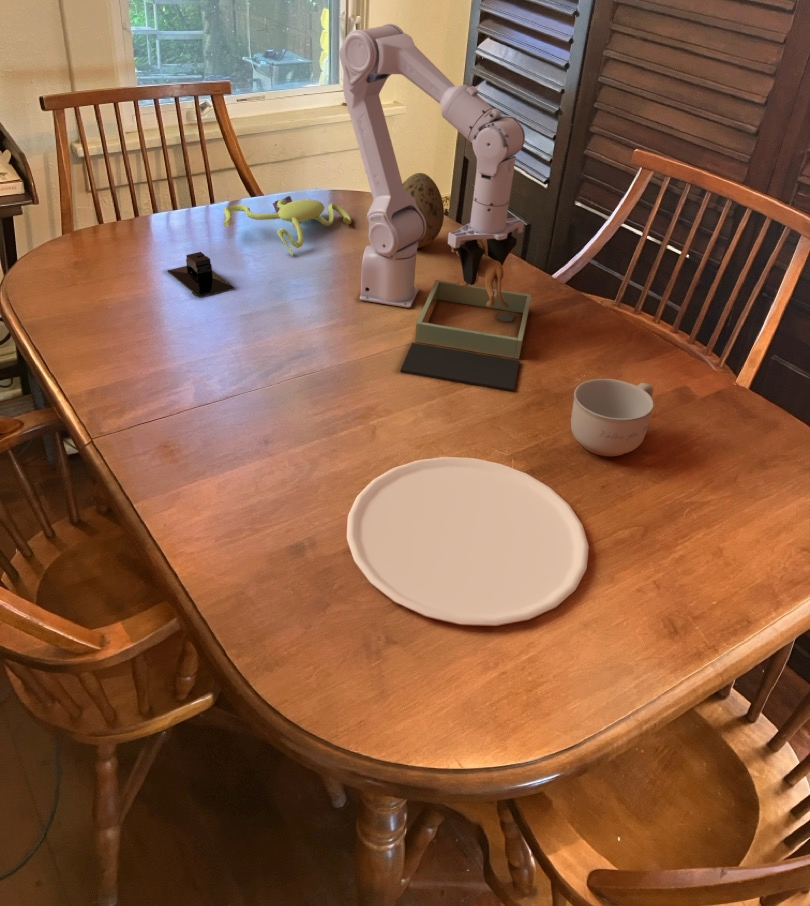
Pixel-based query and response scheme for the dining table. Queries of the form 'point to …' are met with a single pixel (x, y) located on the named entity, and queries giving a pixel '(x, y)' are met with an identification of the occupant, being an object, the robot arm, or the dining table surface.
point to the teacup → (611, 415)
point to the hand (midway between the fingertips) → (480, 279)
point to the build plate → (200, 276)
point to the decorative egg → (426, 204)
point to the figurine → (292, 215)
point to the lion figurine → (488, 276)
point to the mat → (461, 366)
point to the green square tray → (471, 338)
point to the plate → (467, 541)
